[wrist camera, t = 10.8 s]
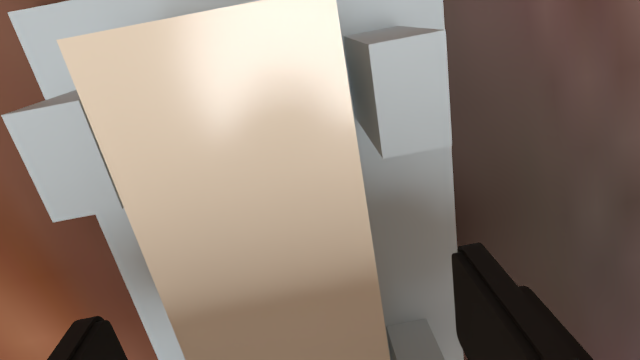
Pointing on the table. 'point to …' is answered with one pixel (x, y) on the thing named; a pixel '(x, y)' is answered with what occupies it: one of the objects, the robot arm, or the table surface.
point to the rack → (372, 136)
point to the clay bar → (240, 177)
